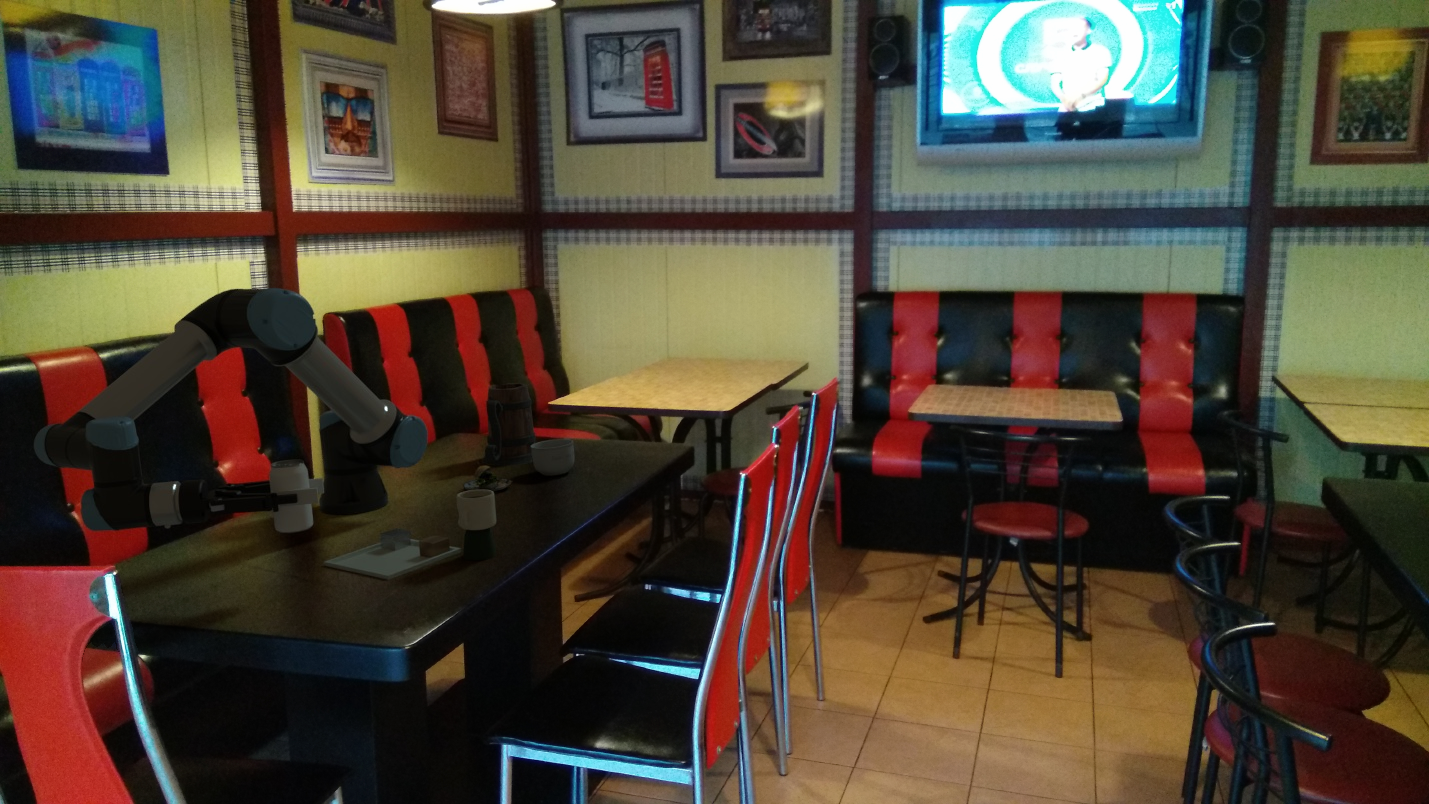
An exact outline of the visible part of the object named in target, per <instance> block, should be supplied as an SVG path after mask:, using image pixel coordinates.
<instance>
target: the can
mask: <svg viewBox="0 0 1429 804" xmlns="http://www.w3.org/2000/svg"><path fill="white" fill-rule="evenodd" d="M269 466H270V470H269V473H268V477H269V478H268V480H270V489H271V493H277V495H278V491H282V490H293V489H305V488H310V487H309V479H310V477H309V471H308V470H309V469H308V468H307V466H306V464H305V461H304V460H302V459H286V460H285V459H284V460H280V461H275V462H272V463H271V464H270V465H269ZM278 508H279V511H278V512H273V511H272V515H273V522H274V523H273V524H274V529H275V530H276V531H277V532H278V533H280V534H292V533H301V532H304V531H307V530H309V529H311V528H312V527H313V525H314V517H313V507H312V504H305V505H294V506H283V507H279V505H278Z"/></svg>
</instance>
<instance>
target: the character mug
mask: <svg viewBox="0 0 1429 804" xmlns="http://www.w3.org/2000/svg"><path fill="white" fill-rule="evenodd" d="M494 492H495V491H491V490H484V489H483V490H469V491H465V492H463V491H461V492H459V493H457V494H456V495H455V496H456V497H455V498H456V508H457V511H458V520H457V524H458V526H459V527H460V528H461V529H463V530H464V531H465V532H464V534H463V535H464V537H463V540H464V541H463V559H464V560H466V561H484V560H485V561H486V560H490V559H492V558H494V557H496V556H497V549H496V545H495V540H494V535H493V531H492V529H491V527H494V526H495V525H496V524H497V511H496V499H495V493H494Z"/></svg>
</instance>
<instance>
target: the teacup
mask: <svg viewBox="0 0 1429 804" xmlns="http://www.w3.org/2000/svg"><path fill="white" fill-rule="evenodd" d="M574 449H575V447H574V440H573V439H569V438H568V437H564V438H560V439H559V438H557V439H549V440H542V441H539V442H535V444H533V445H531V450H532V458H533V462H532V463H533V466H534V469H535V470H536V471H537V472H539V473H540V474H541V475H543V476H547V477H548V476H549V477H550V476H560V475H563V474H567V473H568V472H569V471H570V469H572V468H573V466H574V464H575V451H574Z"/></svg>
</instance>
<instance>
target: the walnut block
mask: <svg viewBox="0 0 1429 804" xmlns="http://www.w3.org/2000/svg"><path fill="white" fill-rule="evenodd" d="M450 546H451V545H450V538H449V537H445V536H439V535H432V536H429V537H426V538H423V539H420V540H419V549H420V556H423V557H428V558H432V557H435V556H438V555H440V554H443V553H446V552H448V551H450Z"/></svg>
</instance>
